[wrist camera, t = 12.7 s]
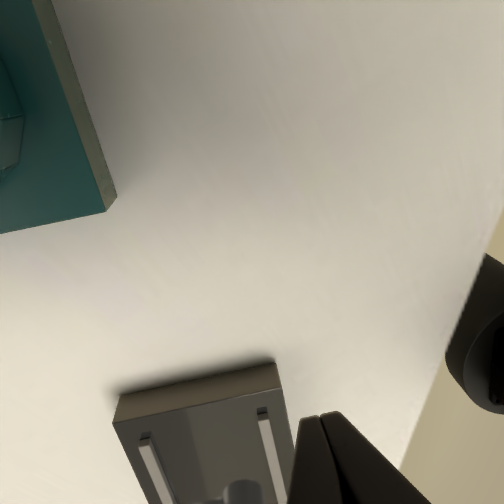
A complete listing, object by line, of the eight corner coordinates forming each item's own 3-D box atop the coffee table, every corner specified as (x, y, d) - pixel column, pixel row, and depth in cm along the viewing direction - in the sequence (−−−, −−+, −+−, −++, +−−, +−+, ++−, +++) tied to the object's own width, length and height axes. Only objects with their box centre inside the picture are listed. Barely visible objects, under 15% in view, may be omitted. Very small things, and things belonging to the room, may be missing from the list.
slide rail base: (276, 361, 23) (283, 394, 20) (313, 548, 30) (322, 587, 28) (119, 395, 22) (109, 431, 20) (196, 574, 30) (195, 616, 28)
